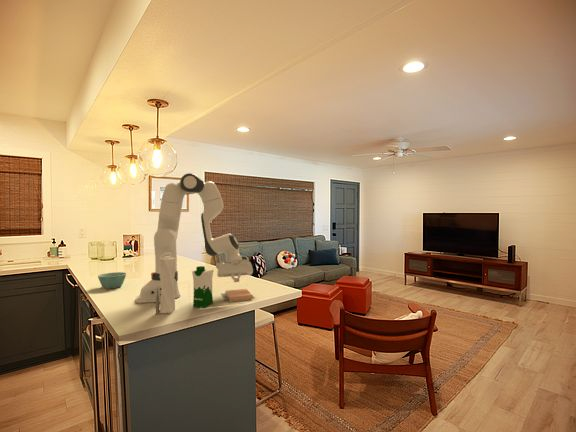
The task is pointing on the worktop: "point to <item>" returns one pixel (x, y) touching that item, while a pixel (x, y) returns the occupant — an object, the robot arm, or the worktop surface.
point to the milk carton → (202, 287)
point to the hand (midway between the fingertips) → (236, 281)
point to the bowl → (112, 280)
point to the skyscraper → (166, 285)
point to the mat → (227, 299)
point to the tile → (238, 295)
